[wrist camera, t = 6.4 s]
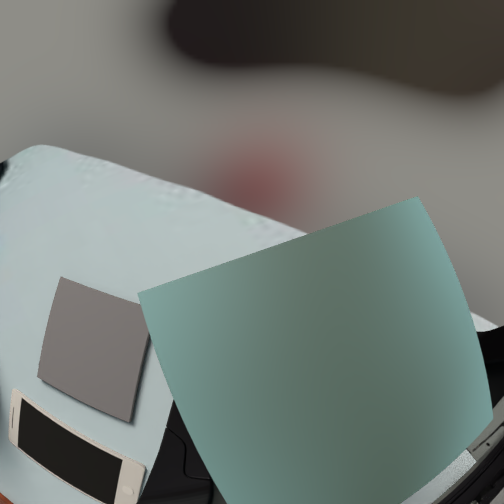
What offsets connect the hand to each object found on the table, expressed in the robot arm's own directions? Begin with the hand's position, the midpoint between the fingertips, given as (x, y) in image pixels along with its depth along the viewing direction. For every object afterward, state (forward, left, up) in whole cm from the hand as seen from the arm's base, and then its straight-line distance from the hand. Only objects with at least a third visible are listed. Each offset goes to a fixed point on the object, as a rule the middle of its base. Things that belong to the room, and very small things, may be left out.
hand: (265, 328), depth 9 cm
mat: (+13, +4, -13) cm, 18 cm away
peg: (-1, +1, -7) cm, 7 cm away
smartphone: (+14, +16, -13) cm, 25 cm away
